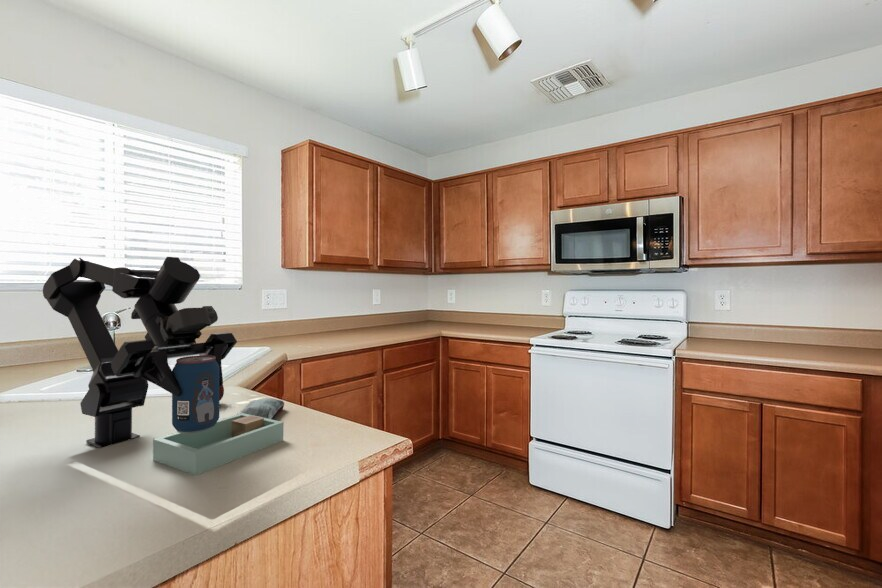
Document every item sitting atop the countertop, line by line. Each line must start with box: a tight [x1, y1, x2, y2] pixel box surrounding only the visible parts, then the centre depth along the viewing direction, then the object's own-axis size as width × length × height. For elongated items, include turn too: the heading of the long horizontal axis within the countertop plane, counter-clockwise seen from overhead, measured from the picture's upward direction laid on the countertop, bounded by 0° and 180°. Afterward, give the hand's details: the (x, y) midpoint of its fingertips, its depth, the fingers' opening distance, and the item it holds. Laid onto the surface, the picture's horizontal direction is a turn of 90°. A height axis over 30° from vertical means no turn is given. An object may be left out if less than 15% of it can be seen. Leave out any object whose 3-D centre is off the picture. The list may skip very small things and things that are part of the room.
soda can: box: [171, 355, 220, 434], centre depth 68 cm, size 7×7×12 cm
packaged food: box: [235, 397, 285, 420], centre depth 92 cm, size 9×12×5 cm
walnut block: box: [232, 415, 264, 438], centre depth 77 cm, size 4×4×4 cm
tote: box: [152, 413, 284, 476], centre depth 73 cm, size 12×17×4 cm
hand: (201, 389), depth 68 cm, fingers closed on soda can, 7 cm apart
